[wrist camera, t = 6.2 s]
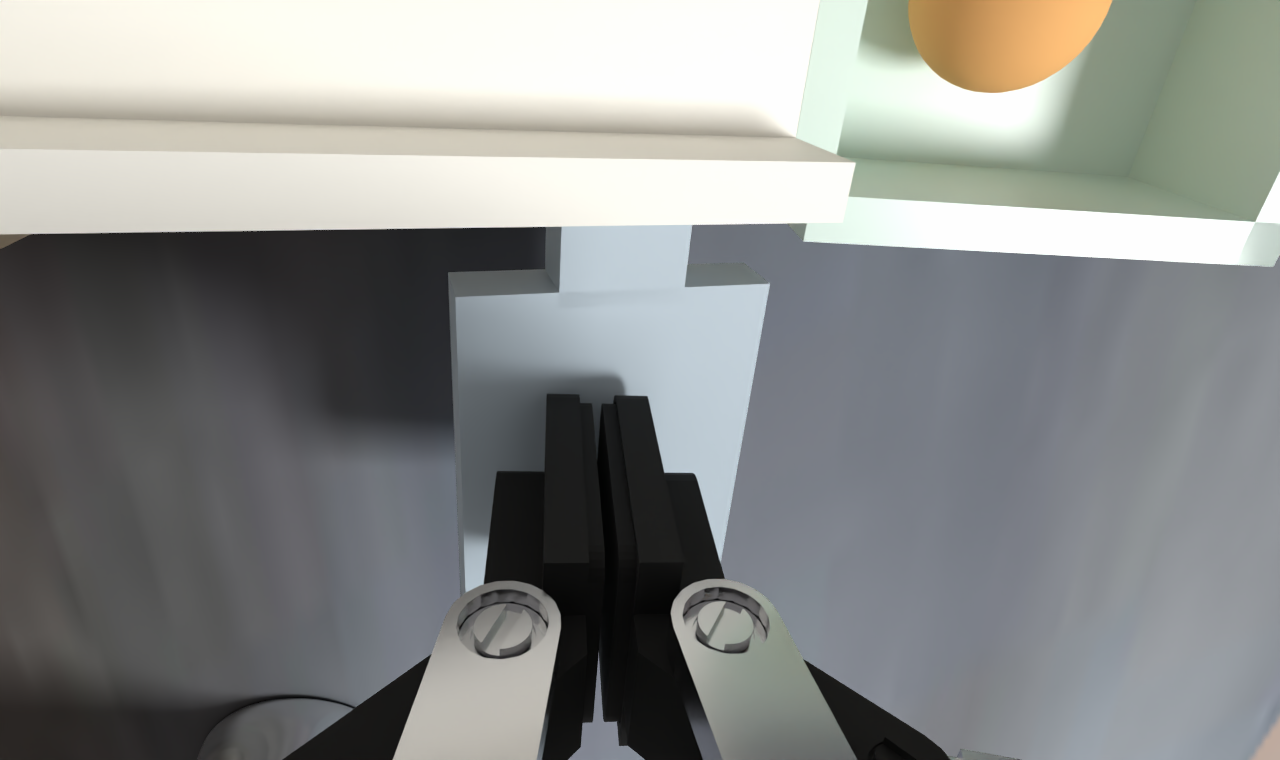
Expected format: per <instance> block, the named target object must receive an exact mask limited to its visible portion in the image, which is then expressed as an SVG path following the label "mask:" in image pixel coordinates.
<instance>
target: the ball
mask: <svg viewBox="0 0 1280 760" xmlns="http://www.w3.org/2000/svg"><path fill="white" fill-rule="evenodd" d="M1111 3H1112V0H909V2H908V17H909V24H910V30H911V33H912V37H913V40H914V43H915V45H916V47H917V50H918V52H919V53H920V55H921V57H922V58H923V60H924V61H925V62H926V63H927V65H928V66H929V67H930V68H931V69H932V70H933V71H934V72H935V73H936V74H937V75H938V76H940V77H941V78H942V79H944V80H946V81H947V82H949V83H951V84H953V85H955V86H958V87H960V88H962V89H966V90H970V91H974V92H983V93H1003V92H1008V91H1014V90H1019V89H1022V88H1025V87H1028V86H1032V85H1034V84H1036V83H1038V82H1040V81H1043V80H1045V79H1046V78H1048V77H1050V76H1051V75H1053V74H1055V73H1056V72H1058V71H1060V70H1061V69H1062V68H1064V67H1065V66H1066V65H1067V64H1069V63H1070V62H1071V61H1072V60H1073V59H1074V58H1075V57H1077V56H1078V55H1079V54H1080V53H1081V52H1082V51H1083V49H1084V48H1085V47H1086V46H1087V45H1088V44H1089V42H1090V41H1091V40H1092V38H1093V37H1094V35H1095V34H1096V32H1097V31H1098V30H1099V28H1100V26H1101V24H1102V22H1103V21H1104V19H1105V17H1106V15H1107V13H1108V10H1109V8H1110V5H1111Z"/></svg>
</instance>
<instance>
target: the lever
mask: <svg viewBox="0 0 1280 760" xmlns="http://www.w3.org/2000/svg"><path fill="white" fill-rule="evenodd" d="M819 4H820V0H0V234H62V233H133V232H205V231H276V230H348V229H419V228H491V227H546V248H545V269H535V270H504V271H474V272H448V286H449V311H450V337H451V362H452V388H453V414H454V439H455V465H456V490H457V516H458V541H459V567H460V592H461V596H462V595H463V594H464V593H466V592H468V591H470V590H472V589H474V588H476V587H478V586H480V585H483V584H484V576H485V567H486V558H487V549H488V541H489V532H490V523H491V515H492V506H493V497H494V488H495V480H496V473H497V471H544V468H545V432H546V397H547V394H579V396H580V403H592V407H593V419H594V431H595V442H596V454H597V458H598V443H599V429H600V414H601V405H602V403H605V404H613V400H614V396H615V395H629V396H648V399H649V404H650V409H651V413H652V418H653V422H654V427H655V432H656V436H657V441H658V446H659V450H660V455H661V459H662V464H663V469H664V473H694V474H695V476H696V478H697V481H698V484H699V488H700V491H701V495H702V499H703V502H704V506H705V509H706V513H707V517H708V520H709V524H710V527H711V531H712V535H713V538H714V542H715V545H716V549H717V553H718V556H719V560H720V563H721V557H722V551H723V546H724V540H725V534H726V529H727V523H728V517H729V512H730V506H731V501H732V495H733V489H734V484H735V478H736V472H737V467H738V461H739V455H740V450H741V444H742V438H743V433H744V427H745V421H746V416H747V410H748V405H749V399H750V393H751V388H752V382H753V376H754V371H755V365H756V359H757V354H758V348H759V342H760V337H761V331H762V326H763V320H764V314H765V309H766V303H767V297H768V292H769V286H770V283H768V282H767V281H766V280H765V279H763V278H762V277H761V276H760V275H758V274H757V273H756V272H754V271H753V270H752V269H751V268H749V267H748V266H747V265H746V264H744V263H720V264H689V265H687V263H688V255H689V246H690V238H691V230H692V225H706V224H777V223H843V219H844V215H845V210H846V205H847V201H848V196H849V192H850V187H851V182H852V178H853V173H854V169H855V164H856V162H853V161H851V160H848V159H846V158H843V157H841V156H839V155H836V154H834V153H831V152H829V151H826V150H824V149H822V148H819V147H817V146H814V145H812V144H810V143H807V142H805V141H802V140H800V139H797V138H796V134H797V128H798V122H799V117H800V111H801V105H802V100H803V94H804V88H805V83H806V77H807V71H808V66H809V60H810V54H811V49H812V43H813V38H814V32H815V26H816V21H817V15H818V9H819Z"/></svg>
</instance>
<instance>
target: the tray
mask: <svg viewBox="0 0 1280 760" xmlns="http://www.w3.org/2000/svg"><path fill="white" fill-rule="evenodd" d="M908 2H909V0H820V4H819V9H818V15H817V21H816V26H815V32H814V38H813V43H812V49H811V54H810V60H809V66H808V71H807V77H806V83H805V88H804V94H803V100H802V105H801V111H800V117H799V122H798V128H797V134H796V138H797V139H800V140H802V141H805V142H807V143H810V144H812V145H814V146H817V147H819V148H822V149H824V150H826V151H829V152H831V153H834V154H836V155H839V156H841V157H843V158H846V159H848V160H851V161H853V162H856V164H855V169H854V173H853V178H852V182H851V187H850V192H849V196H848V201H847V205H846V210H845V215H844V219H843V223H787V224H788V225H789V226H790V227H791V228H792V229H793V231H794V232H795V233H796V234H797V235H798V236H799V237H800V238H801V239H802V240H803V241H806V242H824V243H843V244H861V245H879V246H898V247H916V248H935V249H953V250H972V251H990V252H1009V253H1027V254H1046V255H1064V256H1083V257H1101V258H1120V259H1138V260H1157V261H1175V262H1194V263H1212V264H1231V265H1249V266H1268V267H1273V266H1274V264H1275V263H1276V261H1277V259H1278V257H1279V255H1280V0H1112V3H1111V5H1110V8H1109V10H1108V13H1107V15H1106V17H1105V19H1104V21H1103V22H1102V24H1101V26H1100V28H1099V30H1098V31H1097V32H1096V34H1095V35H1094V37H1093V38H1092V40H1091V41H1090V42H1089V44H1088V45H1087V46H1086V47H1085V48H1084V49H1083V51H1082V52H1081V53H1080V54H1079V55H1078V56H1077V57H1075V58H1074V59H1073V60H1072V61H1071V62H1070V63H1069V64H1067V65H1066V66H1065V67H1064V68H1062V69H1061V70H1060V71H1058V72H1056V73H1055V74H1053V75H1051V76H1050V77H1048V78H1046V79H1045V80H1043V81H1040V82H1038V83H1036V84H1034V85H1032V86H1028V87H1025V88H1022V89H1019V90H1014V91H1008V92H1003V93H983V92H974V91H970V90H966V89H962V88H960V87H958V86H955V85H953V84H951V83H949V82H947V81H946V80H944V79H942V78H941V77H940V76H938V75H937V74H936V73H935V72H934V71H933V70H932V69H931V68H930V67H929V66H928V65H927V63H926V62H925V61H924V60H923V58H922V57H921V55H920V53H919V52H918V50H917V47H916V45H915V43H914V40H913V37H912V33H911V30H910V24H909V17H908Z"/></svg>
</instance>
